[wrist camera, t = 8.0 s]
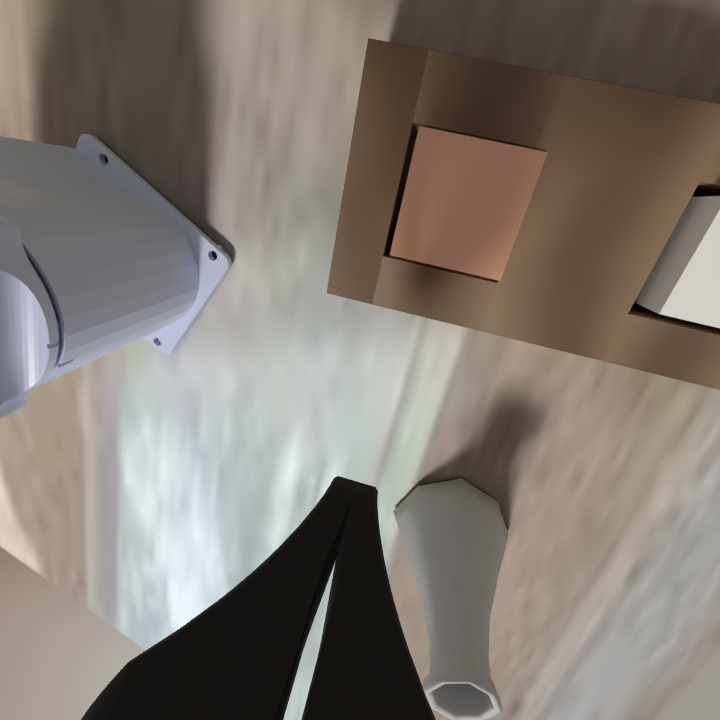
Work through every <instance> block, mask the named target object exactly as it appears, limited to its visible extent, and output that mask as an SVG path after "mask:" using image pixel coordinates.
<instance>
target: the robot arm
mask: <svg viewBox="0 0 720 720" xmlns="http://www.w3.org/2000/svg"><path fill="white" fill-rule="evenodd" d="M105 156H107V158H108V164H107V163H106V161H105ZM213 251H214V252H216V254H217V259H214V258H213V256H212V252H213ZM231 265H232V260H231V258H230V256H229V255H228V254H227V253H226V252H225V251H224V250H223V249H221V248H220V247H219V246H218V245H217V244H216V243H215V242H213V241H212V240H211V239H210V238H209V237H208V236H207V235H206V234H204V233H203V232H202V231H201V230H200V229H199V228H198V227H197V226H195V225H194V224H193V223H192V222H191V221H190V220H189V219H188V218H186V217H185V216H184V215H183V214H182V213H181V212H180V211H179V210H177V209H176V208H175V207H174V206H173V205H172V204H171V203H170V202H168V201H167V200H166V199H165V198H164V197H163V196H162V195H161V194H159V193H158V192H157V191H156V190H155V189H154V188H153V187H152V186H150V185H149V184H148V183H147V182H146V181H145V180H144V179H143V178H141V177H140V176H139V175H138V174H137V173H136V172H135V171H134V170H132V169H131V168H130V167H129V166H128V165H127V164H126V163H125V162H123V161H122V160H121V159H120V158H119V157H118V156H117V155H116V154H114V153H113V152H112V151H111V150H110V149H109V148H108V147H107V146H105V145H104V144H103V143H102V142H101V141H100V140H99V139H98V138H96V137H95V136H93V135H90V134H82V135H81V136H80V137H79V139H78V142H77V145H76V147H75V148H71V147H64V146H58V145H52V144H46V143H40V142H33V141H27V140H21V139H15V138H9V137H3V136H0V419H1V418H3V417H5V416H7V415H9V414H11V413H13V412H15V411H17V410H19V409H21V408H23V407H25V406H26V405H27V397H28V395H29V393H30V391H31V390H33V389H34V388H35V387H37V386H38V385H41V384H44V383H46V382H48V381H50V380H52V379H54V378H57V377H59V376H61V375H63V374H65V373H67V372H70V371H72V370H74V369H76V368H78V367H80V366H82V365H85V364H87V363H89V362H91V361H93V360H95V359H98V358H100V357H102V356H104V355H106V354H108V353H111V352H113V351H115V350H117V349H119V348H121V347H124V346H126V345H128V344H130V343H132V342H134V341H137V340H139V339H141V338H144V339H145V340H147V341H148V342H149V343H150V344H152V345H153V346H154V347H155V348H157V349H158V350H159V351H160V352H162V353H163V354H170V353H171V352H173V351H174V350H175V348H176V347H177V345H178V344H179V343H180V341H181V340H182V338H183V337H184V335H185V334H186V332H187V331H188V329H189V328H190V326H191V325H192V323H193V322H194V321H195V319H196V318H197V316H198V315H199V313H200V312H201V310H202V309H203V307H204V306H205V304H206V303H207V301H208V300H209V298H210V297H211V296H212V294H213V293H214V291H215V290H216V288H217V287H218V285H219V284H220V282H221V281H222V279H223V278H224V276H225V275H226V273H227V272H228V271H229V269H230V268H231ZM158 338H159V339H160V340H161V343H160V342H159V341H158ZM377 494H378V491H377V489H376V487H373V486H370V485H366V484H363V483H359V482H356V481H353V480H349V479H346V478H343V477H339V476H337V477H335V478H334V479H333V481H332V483H331V485H330V486H329V488H328V489H327V491H326V492H325V494H324V495H323V497H322V498H321V499H320V501H319V502H318V503H317V505H316V506H315V507H314V509H313V510H312V511H311V512H310V513H309V515H308V516H307V517H306V518H305V520H304V521H303V522H302V523H301V524H300V525H299V527H298V528H297V529H296V530H295V531H294V532H293V533H292V534H291V535H290V536H289V537H288V538H287V539H286V540H285V542H284V543H283V544H282V545H281V546H280V547H279V548H278V549H277V550H276V551H275V552H274V553H273V554H272V555H271V556H270V557H269V558H267V559H266V560H265V561H264V562H263V563H262V564H261V565H260V566H259V567H258V568H257V569H256V570H254V571H253V572H252V573H251V574H250V575H249V576H247V577H246V578H245V579H244V580H243V581H242V582H240V583H239V584H238V585H237V586H236V587H234V588H233V589H232V590H231V591H230V592H228V593H227V594H226V595H225V596H223V597H222V598H221V599H219V600H218V601H217V602H216V603H214V604H213V605H211V606H210V607H209V608H207V609H206V610H205V611H203V612H202V613H201V614H199V615H198V616H196V617H195V618H194V619H192V620H191V621H190V622H188V623H187V624H186V625H184V626H183V627H181V628H180V629H178V630H177V631H175V632H174V633H172V634H171V635H169V636H168V637H166V638H165V639H163V640H162V641H160V642H158V643H157V644H155V645H154V646H152V647H151V648H149V649H148V650H146V651H145V652H143V653H142V654H140V655H138V656H137V657H135V658H134V659H132V660H131V661H129V662H128V663H127V664H126V665H125V666H124V668H123V669H122V670H121V671H120V672H119V673H118V674H117V675H116V676H115V677H114V678H113V680H112V681H111V682H110V683H109V684H108V685H107V687H106V688H105V689H104V690H103V691H102V693H101V694H100V695H99V696H98V698H97V699H96V700H95V701H94V703H93V704H92V705H91V706H90V708H89V709H88V710H87V712H86V713H85V715H84V716H83V718H82V719H81V720H283V718H284V715H285V711H286V708H287V704H288V701H289V697H290V694H291V690H292V687H293V683H294V680H295V676H296V673H297V669H298V666H299V663H300V659H301V656H302V652H303V649H304V646H305V643H306V640H307V637H308V634H309V631H310V629H311V626H312V623H313V620H314V618H315V615H316V612H317V610H318V607H319V604H320V602H321V599H322V596H323V593H324V591H325V588H326V585H327V583H328V580H329V577H330V574H331V572H332V569H333V566H334V563H335V568H334V573H333V579H332V584H331V590H330V595H329V601H328V606H327V612H326V617H325V623H324V628H323V634H322V639H321V644H320V649H319V653H318V658H317V662H316V666H315V670H314V673H313V677H312V681H311V685H310V689H309V693H308V697H307V701H306V705H305V709H304V712H303V716H302V720H436V719H435V717H434V714H433V712H432V710H431V707H430V705H429V702H428V700H427V697H426V695H425V692H424V690H423V687H422V684H421V682H420V679H419V676H418V674H417V671H416V668H415V665H414V663H413V660H412V657H411V655H410V652H409V649H408V646H407V643H406V640H405V637H404V634H403V631H402V628H401V624H400V621H399V618H398V614H397V611H396V607H395V604H394V600H393V596H392V592H391V588H390V584H389V580H388V575H387V571H386V566H385V561H384V556H383V550H382V544H381V537H380V530H379V521H378V508H377ZM335 561H336V562H335Z"/></svg>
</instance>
